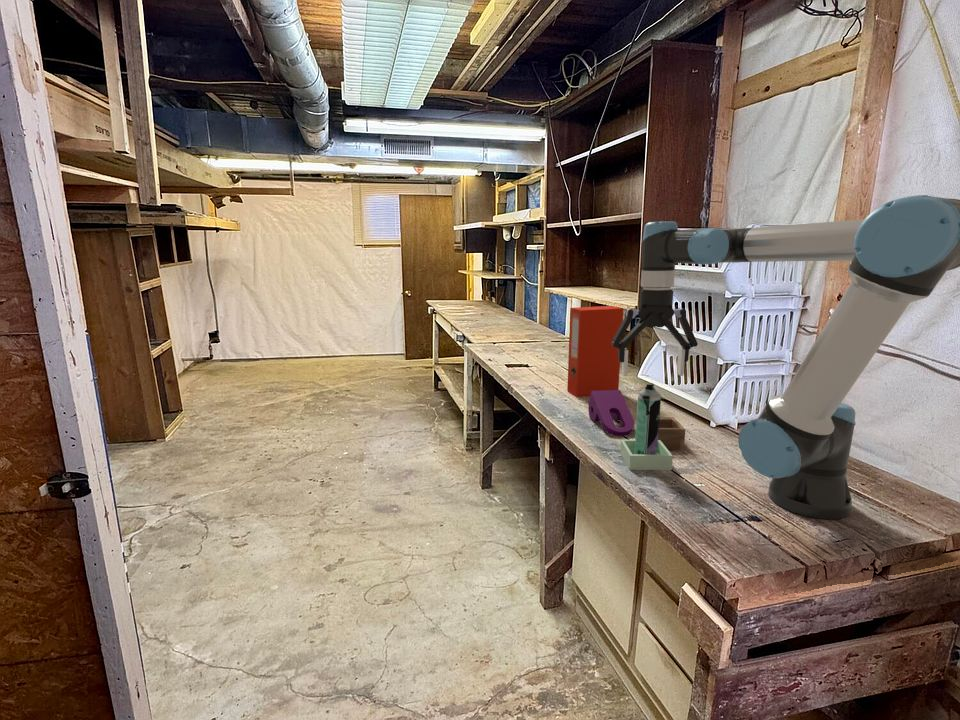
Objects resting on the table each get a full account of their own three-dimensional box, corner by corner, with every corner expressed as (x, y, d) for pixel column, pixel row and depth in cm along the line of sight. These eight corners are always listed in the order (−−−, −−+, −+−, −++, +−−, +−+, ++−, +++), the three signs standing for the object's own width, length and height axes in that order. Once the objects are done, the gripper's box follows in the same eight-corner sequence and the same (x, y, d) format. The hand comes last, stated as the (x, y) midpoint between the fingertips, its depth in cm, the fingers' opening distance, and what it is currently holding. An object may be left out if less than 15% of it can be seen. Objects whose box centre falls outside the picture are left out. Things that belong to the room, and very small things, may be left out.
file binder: (618, 393, 192) (623, 308, 185) (577, 397, 187) (580, 310, 180) (607, 387, 200) (611, 305, 193) (567, 391, 195) (569, 307, 188)
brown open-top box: (683, 450, 139) (685, 429, 138) (650, 449, 140) (651, 429, 138) (669, 434, 151) (671, 414, 150) (638, 433, 152) (640, 414, 150)
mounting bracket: (632, 450, 155) (615, 408, 169) (638, 431, 149) (620, 389, 163) (601, 452, 154) (586, 409, 168) (607, 432, 148) (591, 390, 162)
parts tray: (671, 470, 127) (672, 455, 127) (629, 469, 128) (630, 455, 127) (659, 453, 138) (660, 440, 137) (619, 453, 138) (620, 439, 137)
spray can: (657, 463, 129) (663, 387, 125) (635, 462, 130) (640, 386, 126) (654, 455, 134) (660, 381, 130) (633, 453, 136) (637, 380, 131)
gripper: (703, 286, 126) (697, 370, 130) (601, 288, 127) (598, 371, 131) (716, 288, 119) (709, 378, 123) (607, 290, 120) (604, 378, 124)
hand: (652, 374), depth 127 cm, fingers open, 13 cm apart
